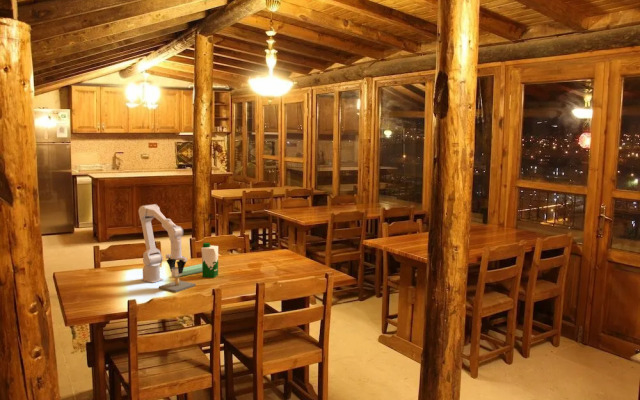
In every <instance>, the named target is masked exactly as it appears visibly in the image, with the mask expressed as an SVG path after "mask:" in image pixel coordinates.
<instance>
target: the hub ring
mask: <svg viewBox="0 0 640 400" xmlns="http://www.w3.org/2000/svg"><path fill="white" fill-rule="evenodd" d="M181 275H182V273H181V274H179V272H178V266H175V267H173V268H172V272H171V276H172V277H175V276H181Z"/></svg>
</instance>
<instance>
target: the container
mask: <svg viewBox="0 0 640 400" xmlns="http://www.w3.org/2000/svg"><path fill="white" fill-rule="evenodd" d="M199 273H202V263H199V264H194V265H190V266H184V268H183V272H182V275H181V276H174V278H181V277H185V276H189V275H195V274H199Z"/></svg>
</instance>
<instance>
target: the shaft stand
mask: <svg viewBox="0 0 640 400" xmlns="http://www.w3.org/2000/svg"><path fill="white" fill-rule="evenodd" d="M193 287H196V283H194V282H189V281H185V280H181V279H180V277H174V281H171V282H169V283H165V284H163V285H158V290H162V291H163V290H164V291H166V292H167V291H168V292H171V293H178V292H181V291H185V290H187V289H190V288H193Z"/></svg>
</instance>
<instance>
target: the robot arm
mask: <svg viewBox="0 0 640 400" xmlns="http://www.w3.org/2000/svg"><path fill="white" fill-rule="evenodd" d="M138 216H139V220H140V223H141V228H142V233H143V238H144V244H145V248H146V250H145V251H144V252H143V254H142V256H143V259H142V262H143V265H144V266H143V267H142V279H141V281H142V282H143V281H144V282H148V283H153V284H154V283H157V282H161V281H163V280H164V278H162V277H161V274H160V273H161V271H160V268H161V267H160V266H161V265H162V263H163V260H164V259H163V255H162V253H161V250H160V249H159V248H157V247H156V242H155V237H154V232H153V231H154V230H153V225H152V220H153V219H154V218H155V219H156V220H157V221H158V222H160V223H161V227H162V228H163V229H164V230H165V231H166V232H167V235H168V237H169V241H170V254H165V259H166V263H167V264H168V266H169V269H170V270H169V271H170V273H172V268H173V267H176V265H177V267H178V272H179V274H181V273H182V272H183V268H184V267H186V266H185V265H186V264H187V262H188V257H185V256H183V254H182V252H183V250H182V248H183V247H182V237H183V235H184V229H183V228H182V226H181V225H177V224H176V223H174V222H173V221H172V219H171V218H166V216H165V215H164V214H163V213H162V211H161V209H160V206H158V204H157V203H154V204H145V205H141V206H139V208H138Z"/></svg>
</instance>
